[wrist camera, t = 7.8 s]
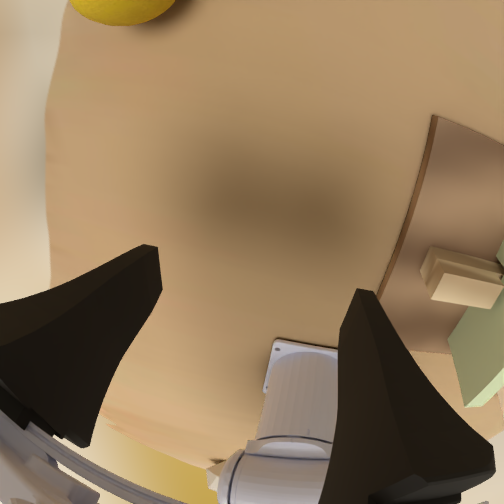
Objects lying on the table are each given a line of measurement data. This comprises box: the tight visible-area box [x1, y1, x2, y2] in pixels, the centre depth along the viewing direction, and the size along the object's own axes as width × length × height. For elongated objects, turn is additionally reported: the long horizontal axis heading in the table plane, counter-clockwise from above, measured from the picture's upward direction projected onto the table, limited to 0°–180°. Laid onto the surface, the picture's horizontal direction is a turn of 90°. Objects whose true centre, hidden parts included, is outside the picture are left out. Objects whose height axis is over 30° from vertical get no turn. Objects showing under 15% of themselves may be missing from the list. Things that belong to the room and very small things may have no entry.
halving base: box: [376, 115, 504, 354], centre depth 15 cm, size 18×18×4 cm
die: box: [206, 460, 226, 492], centre depth 49 cm, size 8×9×10 cm
